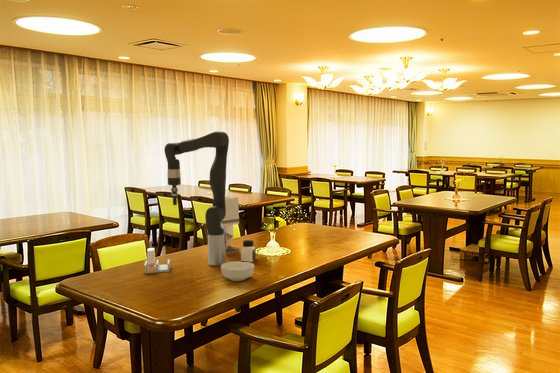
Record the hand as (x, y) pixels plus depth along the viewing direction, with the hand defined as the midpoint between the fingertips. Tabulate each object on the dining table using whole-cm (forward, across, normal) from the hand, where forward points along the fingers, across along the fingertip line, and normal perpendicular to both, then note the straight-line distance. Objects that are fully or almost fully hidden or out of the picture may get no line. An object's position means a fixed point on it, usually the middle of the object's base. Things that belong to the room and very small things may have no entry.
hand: (174, 204), depth 269 cm
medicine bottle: (+33, -14, -41) cm, 55 cm away
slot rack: (+33, -22, +10) cm, 41 cm away
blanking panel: (+32, -21, +14) cm, 40 cm away
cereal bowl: (+33, -50, -30) cm, 67 cm away
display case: (+33, +11, -32) cm, 47 cm away
